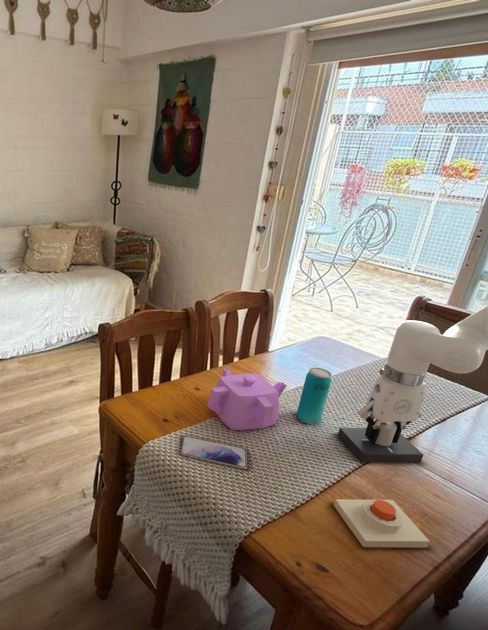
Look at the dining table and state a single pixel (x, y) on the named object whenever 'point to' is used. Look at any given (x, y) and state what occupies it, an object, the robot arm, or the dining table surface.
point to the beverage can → (314, 395)
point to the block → (379, 525)
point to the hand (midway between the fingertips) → (380, 438)
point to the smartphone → (214, 452)
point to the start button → (383, 510)
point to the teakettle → (245, 401)
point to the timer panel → (379, 448)
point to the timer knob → (386, 433)
